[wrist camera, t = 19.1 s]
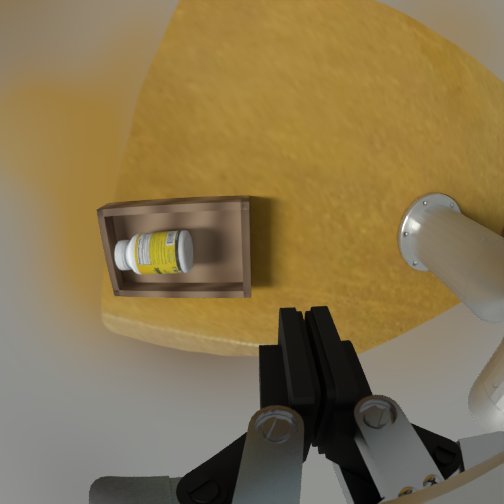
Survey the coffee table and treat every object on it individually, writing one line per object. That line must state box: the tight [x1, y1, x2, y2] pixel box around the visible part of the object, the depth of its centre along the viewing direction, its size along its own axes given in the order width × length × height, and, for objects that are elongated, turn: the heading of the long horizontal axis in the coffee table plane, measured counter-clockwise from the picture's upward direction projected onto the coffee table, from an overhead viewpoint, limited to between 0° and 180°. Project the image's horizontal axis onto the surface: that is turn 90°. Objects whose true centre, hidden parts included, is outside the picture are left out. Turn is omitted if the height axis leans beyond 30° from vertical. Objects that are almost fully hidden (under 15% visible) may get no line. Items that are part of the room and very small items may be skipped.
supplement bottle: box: [115, 230, 194, 275], centre depth 36 cm, size 5×5×10 cm
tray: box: [97, 196, 251, 298], centre depth 38 cm, size 20×13×4 cm, turn 91°
